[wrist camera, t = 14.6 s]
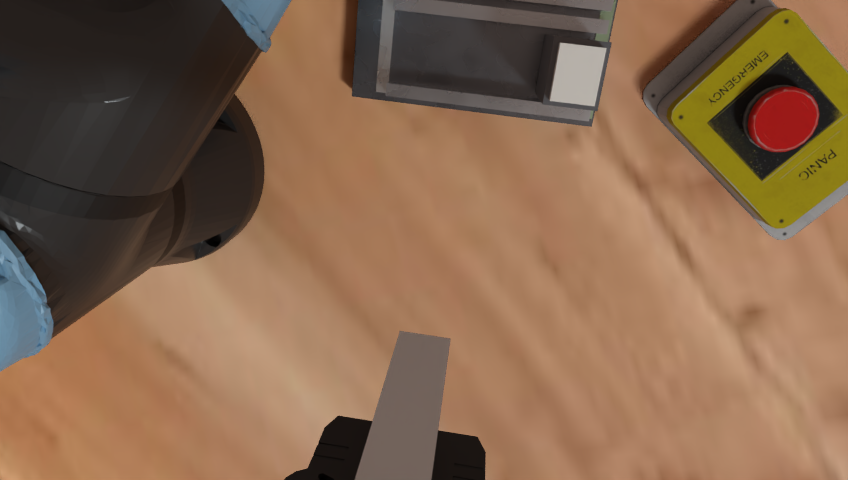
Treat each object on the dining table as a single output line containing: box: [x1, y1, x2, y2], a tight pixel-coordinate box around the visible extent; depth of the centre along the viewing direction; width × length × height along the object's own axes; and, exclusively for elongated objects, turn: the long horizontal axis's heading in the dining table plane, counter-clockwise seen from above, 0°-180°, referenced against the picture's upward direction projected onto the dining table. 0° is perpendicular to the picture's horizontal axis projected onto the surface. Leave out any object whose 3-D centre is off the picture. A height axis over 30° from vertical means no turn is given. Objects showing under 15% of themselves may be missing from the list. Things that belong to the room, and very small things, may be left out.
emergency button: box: [643, 0, 848, 240], centre depth 38 cm, size 9×4×15 cm
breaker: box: [535, 34, 611, 111], centre depth 35 cm, size 3×4×7 cm
